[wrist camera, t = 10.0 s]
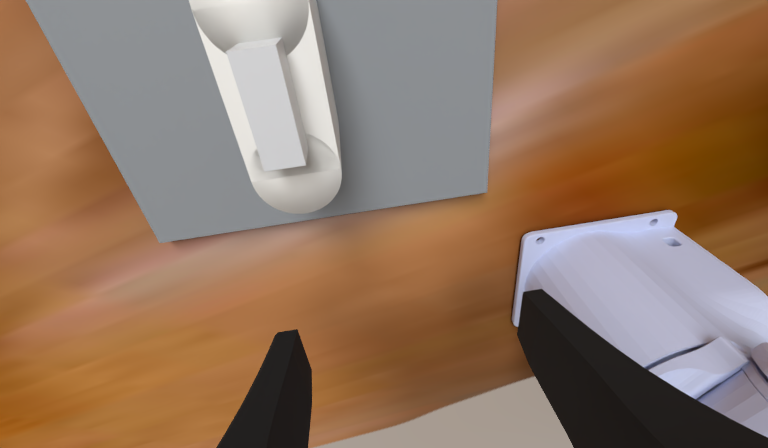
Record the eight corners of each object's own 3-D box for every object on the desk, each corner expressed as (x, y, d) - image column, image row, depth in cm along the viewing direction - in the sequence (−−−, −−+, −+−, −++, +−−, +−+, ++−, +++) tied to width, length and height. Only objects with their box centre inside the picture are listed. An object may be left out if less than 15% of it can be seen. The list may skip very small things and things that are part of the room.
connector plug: (305, -61, 13) (287, -89, 8) (344, 152, 17) (350, 228, 12) (219, -50, 13) (141, -70, 8) (280, 162, 17) (258, 243, 12)
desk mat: (499, -228, 12) (510, -241, 11) (481, 185, 20) (487, 192, 20) (-49, -169, 11) (-73, -177, 11) (165, 234, 20) (159, 242, 19)
